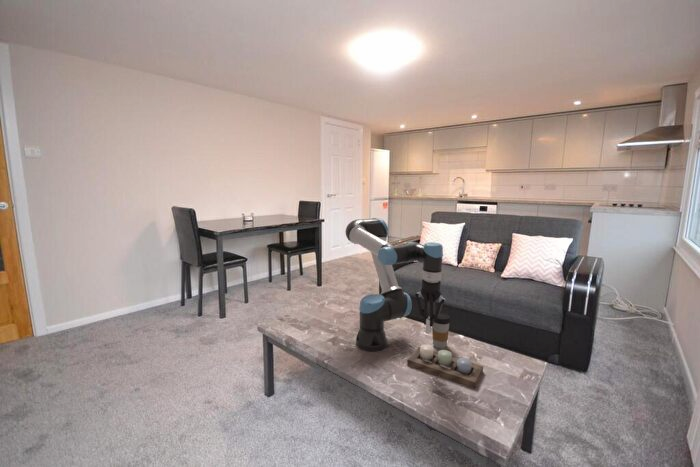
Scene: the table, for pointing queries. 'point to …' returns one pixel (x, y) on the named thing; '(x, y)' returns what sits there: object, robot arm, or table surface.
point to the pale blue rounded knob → (464, 366)
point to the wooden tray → (446, 369)
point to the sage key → (444, 357)
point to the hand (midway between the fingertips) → (428, 332)
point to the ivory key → (426, 352)
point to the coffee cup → (441, 331)
